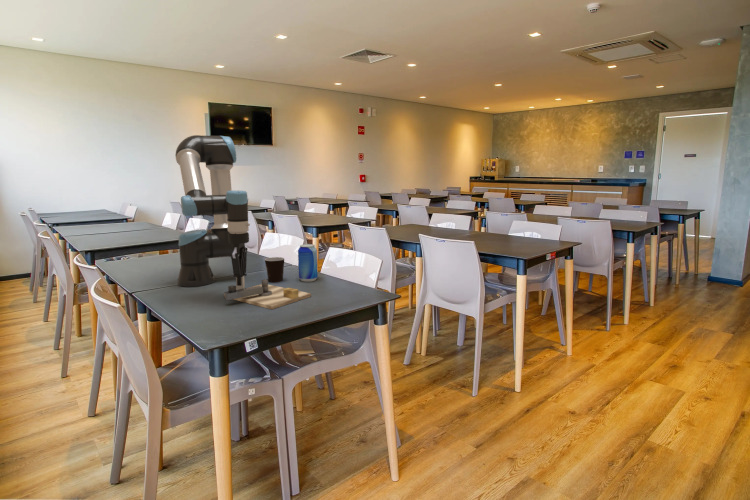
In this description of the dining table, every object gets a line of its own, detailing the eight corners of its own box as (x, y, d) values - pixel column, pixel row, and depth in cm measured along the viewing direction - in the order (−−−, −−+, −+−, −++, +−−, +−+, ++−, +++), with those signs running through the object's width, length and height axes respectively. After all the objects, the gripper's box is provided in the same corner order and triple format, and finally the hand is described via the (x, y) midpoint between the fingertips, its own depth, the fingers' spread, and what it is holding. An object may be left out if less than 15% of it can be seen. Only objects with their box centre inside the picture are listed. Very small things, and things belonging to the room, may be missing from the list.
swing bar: (260, 291, 170) (259, 280, 169) (263, 293, 168) (262, 282, 167) (224, 298, 161) (224, 286, 160) (227, 300, 159) (227, 288, 158)
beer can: (295, 281, 195) (294, 246, 193) (305, 277, 203) (304, 243, 200) (311, 282, 192) (310, 247, 189) (321, 278, 200) (320, 244, 197)
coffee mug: (280, 283, 192) (279, 261, 190) (262, 282, 193) (261, 260, 192) (290, 277, 203) (290, 256, 201) (273, 276, 205) (272, 255, 203)
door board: (224, 297, 171) (222, 279, 170) (263, 286, 187) (263, 270, 186) (271, 309, 155) (270, 290, 154) (311, 296, 171) (310, 279, 170)
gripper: (242, 234, 156) (245, 298, 160) (253, 230, 169) (255, 288, 173) (222, 234, 156) (225, 297, 160) (234, 229, 169) (236, 288, 173)
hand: (240, 292), depth 167 cm, fingers closed
